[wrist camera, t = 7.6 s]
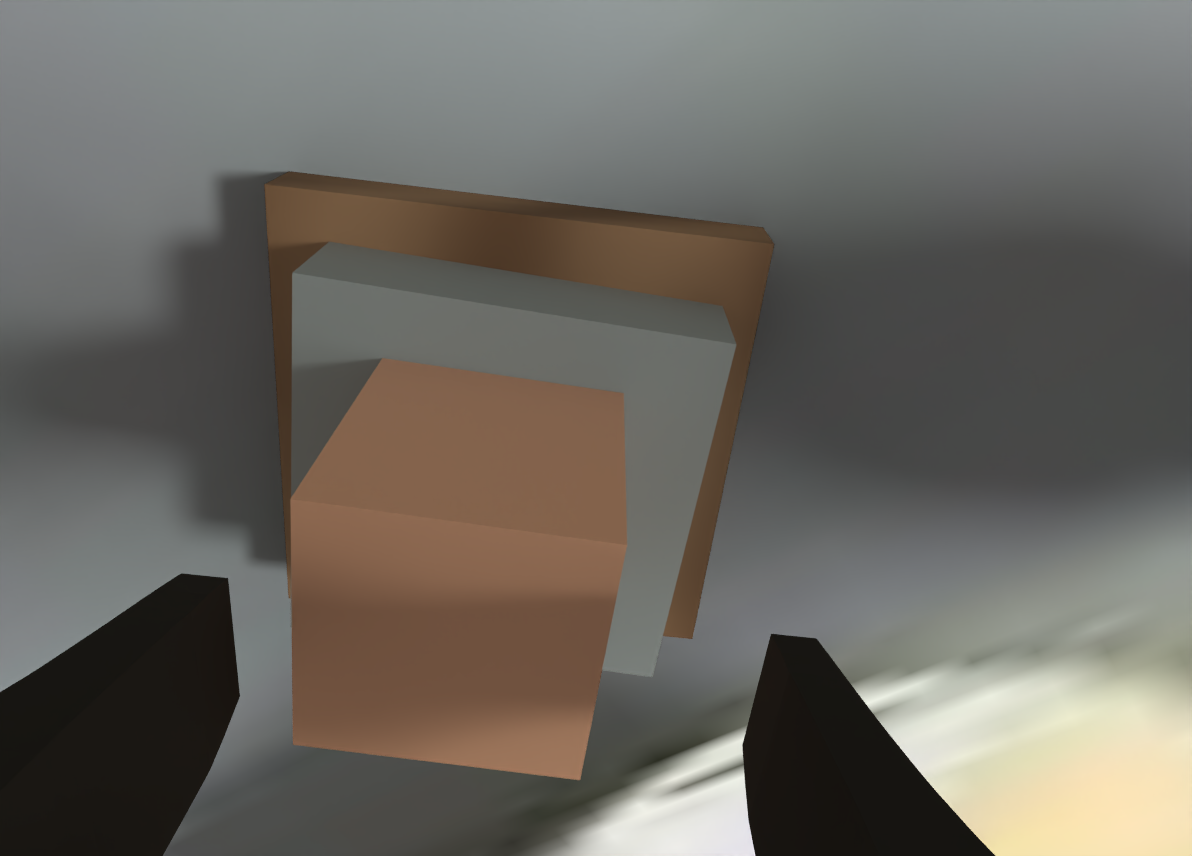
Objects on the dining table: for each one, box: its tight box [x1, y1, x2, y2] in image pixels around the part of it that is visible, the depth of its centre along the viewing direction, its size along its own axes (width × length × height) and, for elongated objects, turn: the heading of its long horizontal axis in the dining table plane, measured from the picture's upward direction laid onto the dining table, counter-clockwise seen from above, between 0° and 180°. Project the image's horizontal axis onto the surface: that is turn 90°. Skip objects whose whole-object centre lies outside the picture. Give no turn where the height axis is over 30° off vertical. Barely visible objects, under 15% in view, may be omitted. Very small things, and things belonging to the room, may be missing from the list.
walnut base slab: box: [264, 171, 774, 639], centre depth 20 cm, size 10×10×2 cm
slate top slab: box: [291, 242, 736, 677], centre depth 18 cm, size 8×8×2 cm
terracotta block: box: [290, 358, 627, 780], centre depth 15 cm, size 4×4×5 cm
